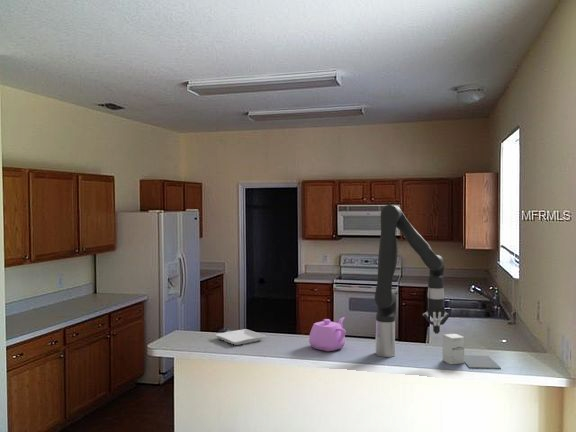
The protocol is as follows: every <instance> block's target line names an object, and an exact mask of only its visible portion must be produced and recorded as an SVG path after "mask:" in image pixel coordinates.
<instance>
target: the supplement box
mask: <svg viewBox="0 0 576 432" xmlns="http://www.w3.org/2000/svg"><path fill="white" fill-rule="evenodd" d="M464 355H465V336H462V335H461V334H457V333H447V334H442V358H441V359H442V361H443V362H445V363H447V364H449V365H457V364H458V365H459V364H464Z"/></svg>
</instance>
